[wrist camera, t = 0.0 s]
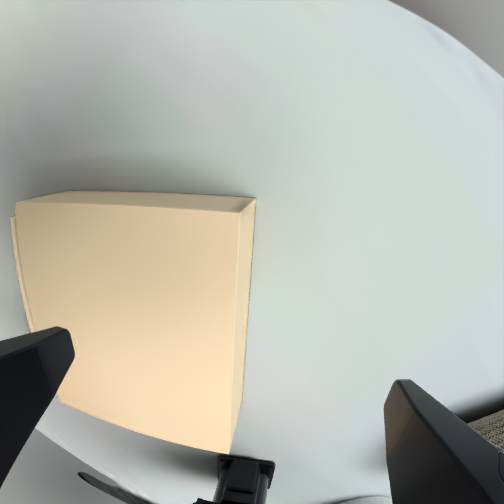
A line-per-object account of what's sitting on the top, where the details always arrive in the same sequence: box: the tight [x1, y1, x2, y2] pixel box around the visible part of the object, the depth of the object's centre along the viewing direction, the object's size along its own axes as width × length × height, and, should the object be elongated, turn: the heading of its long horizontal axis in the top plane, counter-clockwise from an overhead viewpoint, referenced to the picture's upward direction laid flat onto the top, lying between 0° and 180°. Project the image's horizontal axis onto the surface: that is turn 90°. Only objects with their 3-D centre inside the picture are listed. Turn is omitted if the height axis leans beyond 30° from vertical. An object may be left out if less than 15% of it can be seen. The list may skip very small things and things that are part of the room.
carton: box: [15, 191, 256, 454], centre depth 21 cm, size 18×16×6 cm
